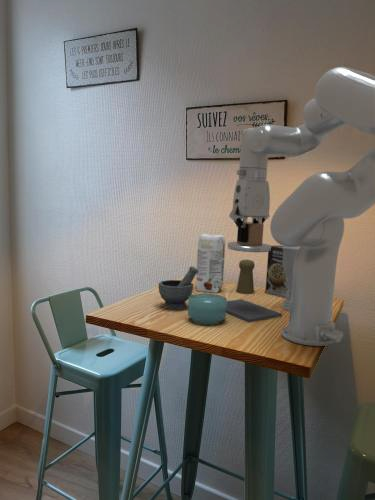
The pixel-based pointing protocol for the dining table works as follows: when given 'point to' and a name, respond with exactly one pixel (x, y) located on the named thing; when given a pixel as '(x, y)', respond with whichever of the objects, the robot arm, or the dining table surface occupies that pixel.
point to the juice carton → (210, 263)
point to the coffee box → (276, 273)
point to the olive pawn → (246, 277)
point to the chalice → (288, 270)
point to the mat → (249, 311)
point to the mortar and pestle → (177, 290)
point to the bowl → (207, 308)
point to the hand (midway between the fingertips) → (248, 240)
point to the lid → (251, 240)
